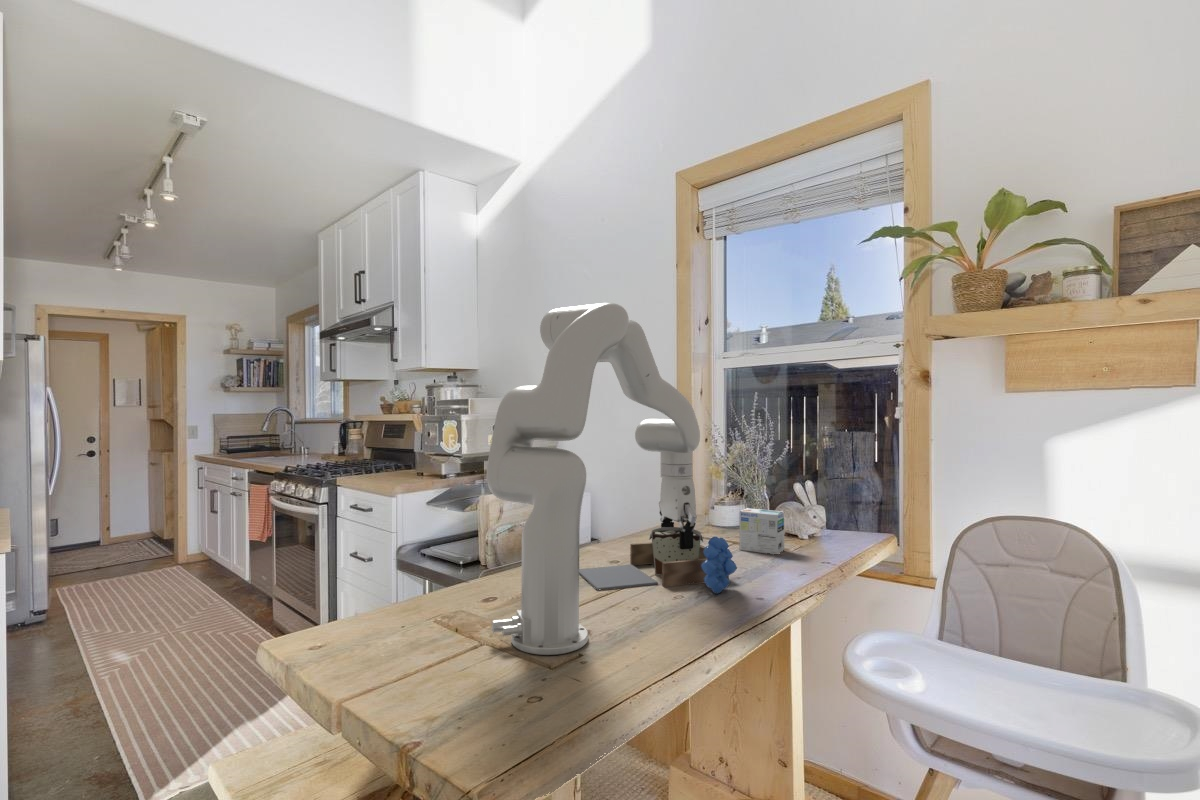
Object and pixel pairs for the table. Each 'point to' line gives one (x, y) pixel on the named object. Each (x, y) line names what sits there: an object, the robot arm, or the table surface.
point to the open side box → (671, 566)
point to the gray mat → (616, 577)
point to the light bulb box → (761, 530)
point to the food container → (672, 546)
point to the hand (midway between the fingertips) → (676, 543)
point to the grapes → (717, 564)
